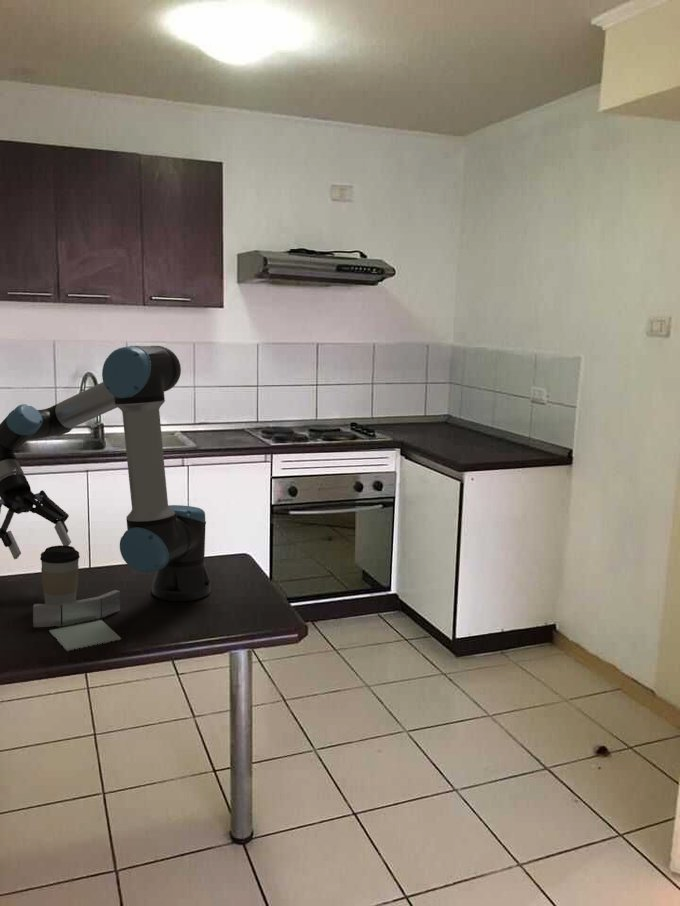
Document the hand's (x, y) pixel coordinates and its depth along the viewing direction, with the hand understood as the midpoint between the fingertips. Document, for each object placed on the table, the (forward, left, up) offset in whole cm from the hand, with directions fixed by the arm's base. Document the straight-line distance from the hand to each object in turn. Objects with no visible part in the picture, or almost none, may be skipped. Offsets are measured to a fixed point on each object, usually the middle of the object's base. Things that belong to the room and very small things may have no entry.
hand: (43, 550), depth 190 cm
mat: (-1, +26, -13) cm, 29 cm away
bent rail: (-3, +16, -13) cm, 21 cm away
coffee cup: (-2, +6, -13) cm, 15 cm away
